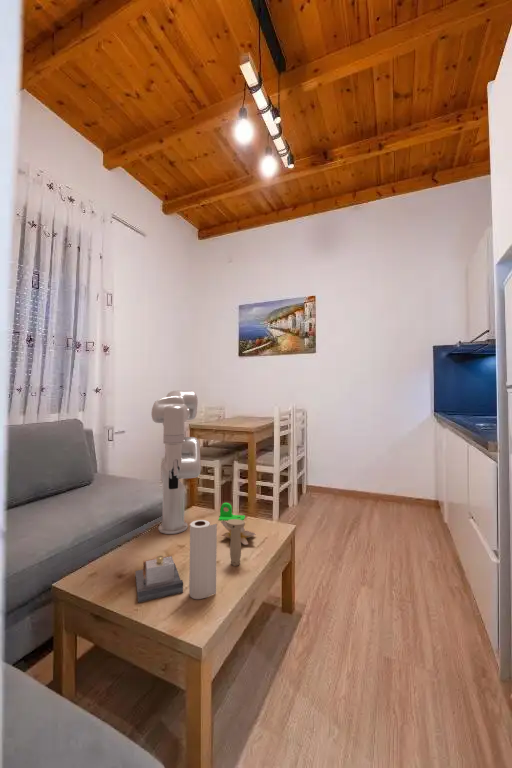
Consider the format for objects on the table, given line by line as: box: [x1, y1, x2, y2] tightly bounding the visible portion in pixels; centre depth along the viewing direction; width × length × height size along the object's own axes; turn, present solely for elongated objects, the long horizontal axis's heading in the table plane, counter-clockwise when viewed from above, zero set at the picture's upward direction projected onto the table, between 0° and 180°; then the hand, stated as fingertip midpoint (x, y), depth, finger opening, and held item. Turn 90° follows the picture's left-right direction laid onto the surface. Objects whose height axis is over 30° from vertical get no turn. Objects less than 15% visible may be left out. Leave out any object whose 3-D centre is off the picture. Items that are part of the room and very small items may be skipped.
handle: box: [226, 519, 246, 567], centre depth 117 cm, size 5×6×15 cm
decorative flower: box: [220, 521, 256, 545], centre depth 135 cm, size 15×11×10 cm
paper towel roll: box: [188, 519, 218, 600], centre depth 99 cm, size 7×6×21 cm
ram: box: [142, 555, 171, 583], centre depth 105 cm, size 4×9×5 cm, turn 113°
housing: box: [145, 555, 175, 588], centre depth 101 cm, size 5×8×8 cm, turn 113°
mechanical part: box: [218, 502, 246, 522], centre depth 157 cm, size 12×6×8 cm, turn 86°
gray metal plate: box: [134, 562, 184, 603], centre depth 105 cm, size 16×13×3 cm
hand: (173, 488), depth 120 cm, fingers closed
